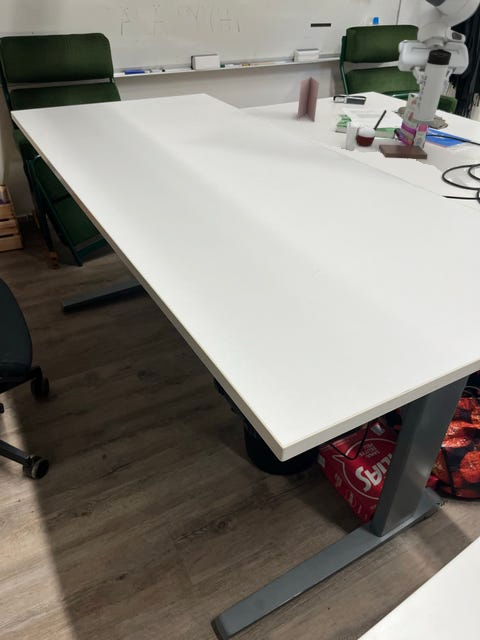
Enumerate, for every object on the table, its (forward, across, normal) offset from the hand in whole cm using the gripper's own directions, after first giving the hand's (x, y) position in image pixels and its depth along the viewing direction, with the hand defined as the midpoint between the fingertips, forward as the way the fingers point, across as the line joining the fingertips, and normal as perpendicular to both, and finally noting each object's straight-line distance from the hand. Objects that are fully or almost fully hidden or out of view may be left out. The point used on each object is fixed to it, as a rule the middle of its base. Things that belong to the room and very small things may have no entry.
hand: (432, 83), depth 144 cm
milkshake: (+10, -20, +24) cm, 32 cm away
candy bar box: (+3, +4, +30) cm, 31 cm away
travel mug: (+8, 0, +9) cm, 12 cm away
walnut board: (+11, -2, +22) cm, 25 cm away
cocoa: (+6, -13, +28) cm, 31 cm away
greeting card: (-16, -31, +50) cm, 61 cm away
